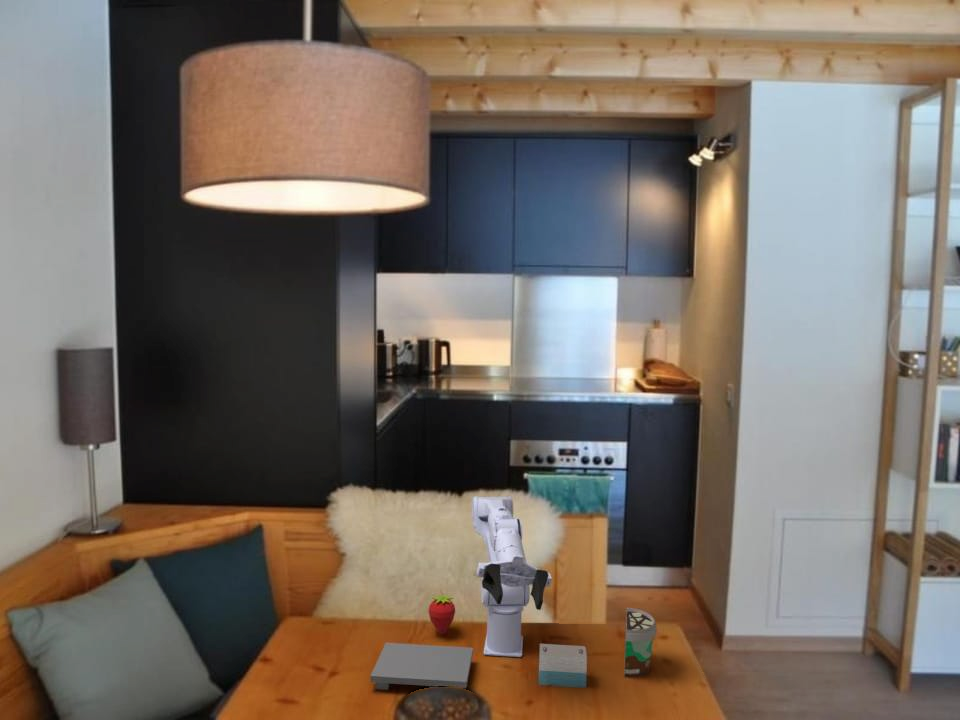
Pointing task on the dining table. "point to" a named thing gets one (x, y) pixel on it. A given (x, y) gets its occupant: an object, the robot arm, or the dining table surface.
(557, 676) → the housing
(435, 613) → the strawberry
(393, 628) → the dining table surface
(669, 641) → the dining table surface
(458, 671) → the stand
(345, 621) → the dining table surface
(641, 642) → the food container
